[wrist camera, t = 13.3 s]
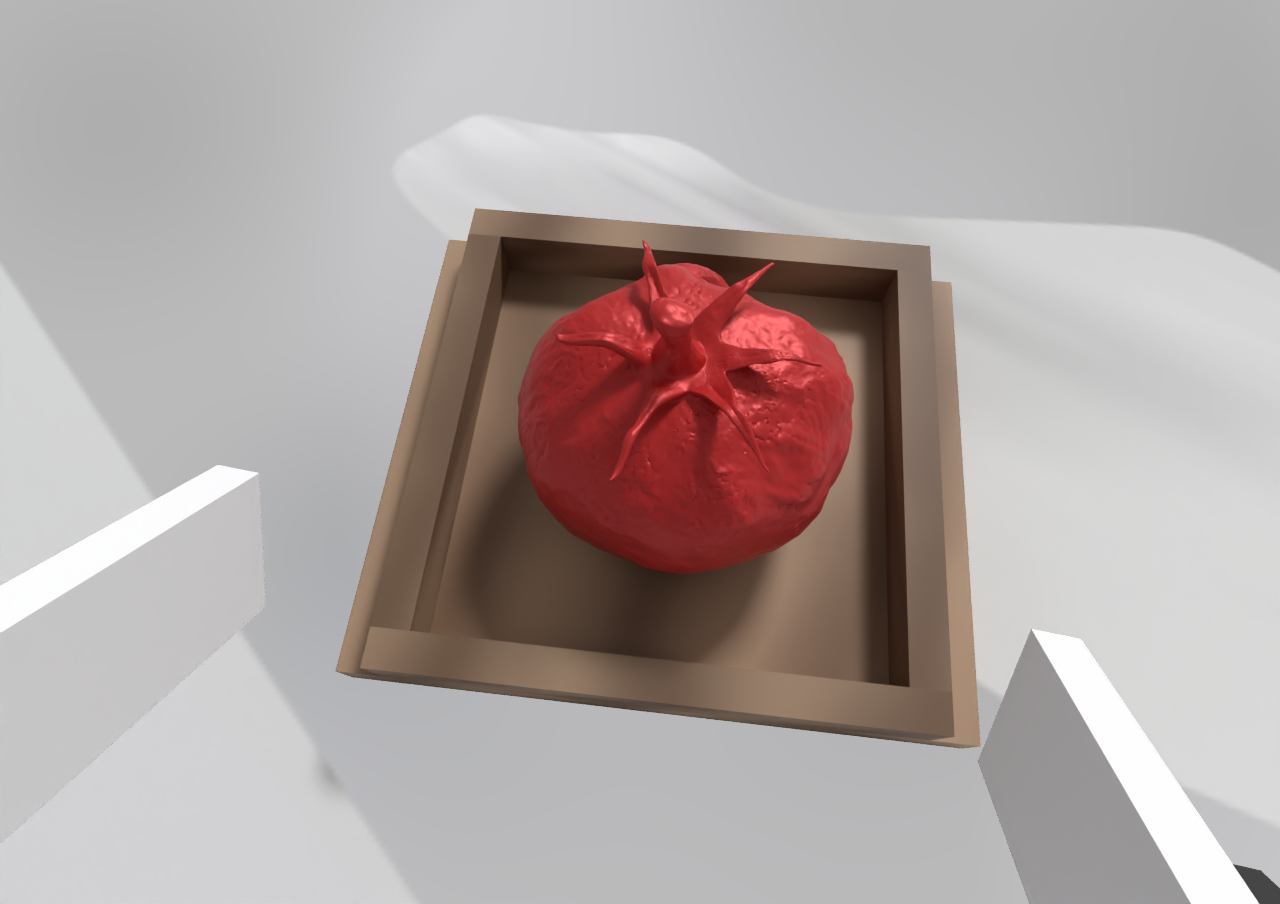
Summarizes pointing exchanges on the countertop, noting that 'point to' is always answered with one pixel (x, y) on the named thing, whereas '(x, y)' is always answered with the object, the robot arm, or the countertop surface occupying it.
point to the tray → (668, 602)
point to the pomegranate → (684, 421)
